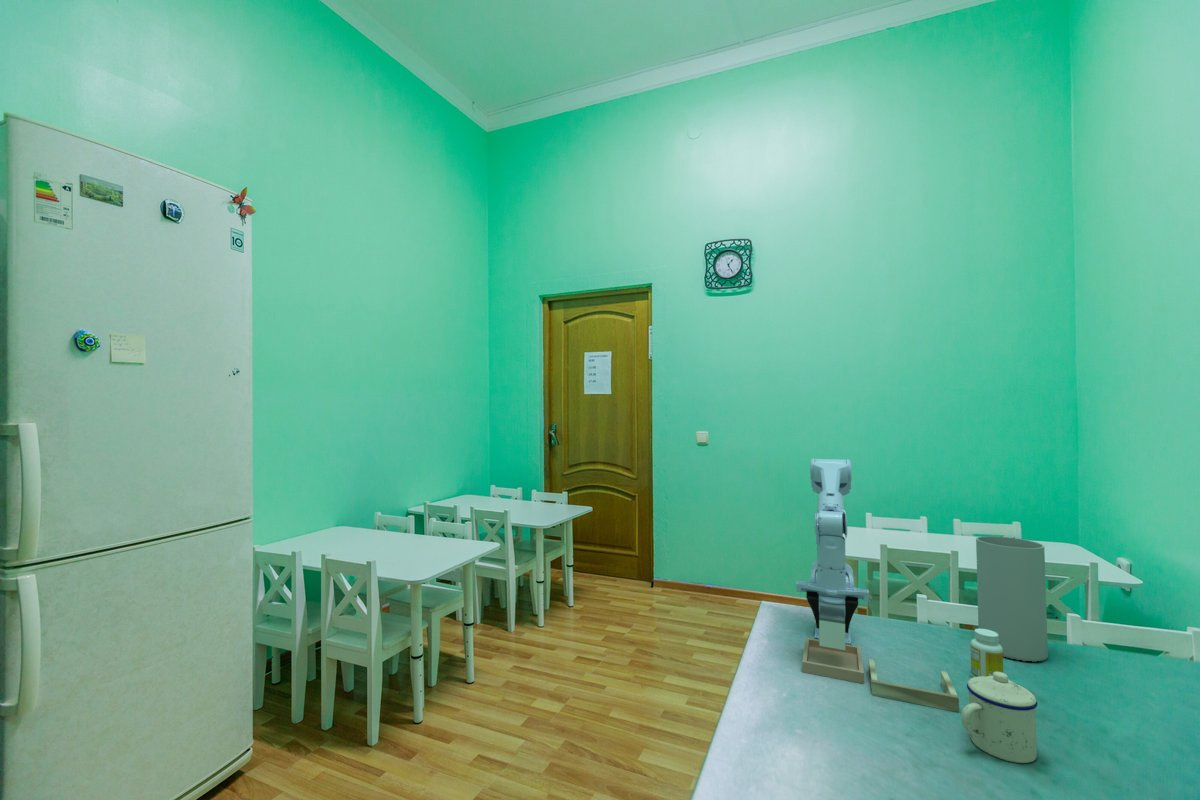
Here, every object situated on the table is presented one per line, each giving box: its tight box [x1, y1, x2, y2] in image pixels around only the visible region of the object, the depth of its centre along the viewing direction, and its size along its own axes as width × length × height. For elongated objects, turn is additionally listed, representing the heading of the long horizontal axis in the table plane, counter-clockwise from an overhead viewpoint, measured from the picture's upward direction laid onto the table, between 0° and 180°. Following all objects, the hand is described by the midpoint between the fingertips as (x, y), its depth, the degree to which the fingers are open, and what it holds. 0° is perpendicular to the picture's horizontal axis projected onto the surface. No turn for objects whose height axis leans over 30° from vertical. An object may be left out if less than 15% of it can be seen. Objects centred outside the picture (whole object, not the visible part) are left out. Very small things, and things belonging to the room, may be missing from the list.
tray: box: [801, 637, 865, 685], centre depth 112 cm, size 14×12×2 cm
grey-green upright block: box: [818, 605, 845, 650], centre depth 113 cm, size 8×5×6 cm, turn 156°
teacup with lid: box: [960, 672, 1038, 764], centre depth 84 cm, size 12×9×12 cm
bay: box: [868, 658, 960, 713], centre depth 102 cm, size 11×14×2 cm
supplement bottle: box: [970, 628, 1004, 678], centre depth 106 cm, size 5×5×10 cm
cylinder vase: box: [975, 535, 1049, 663], centre depth 120 cm, size 12×12×25 cm
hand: (832, 629), depth 113 cm, fingers closed on grey-green upright block, 5 cm apart
